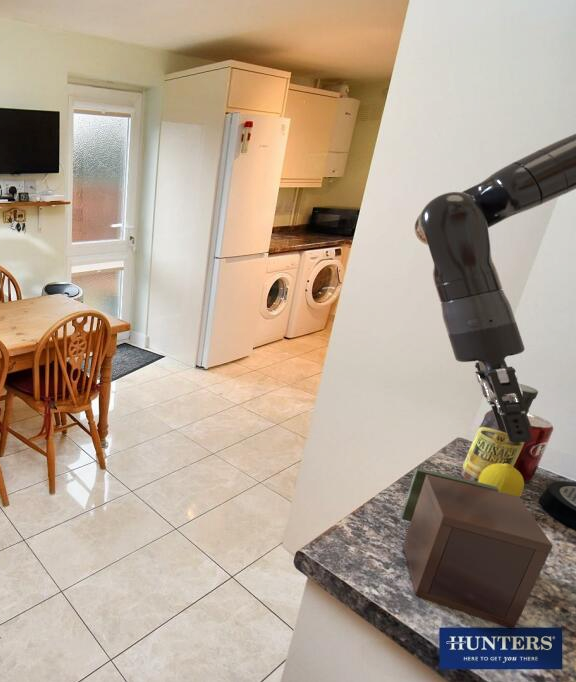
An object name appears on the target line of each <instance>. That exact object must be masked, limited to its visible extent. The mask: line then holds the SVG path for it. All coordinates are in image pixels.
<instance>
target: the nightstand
mask: <svg viewBox="0 0 576 682" xmlns="http://www.w3.org/2000/svg"><path fill="white" fill-rule="evenodd" d="M553 546H554V545H553V543H552V542H551V540H550V539H549V538H548V536H547V535H546V533H545V532H544V530H543V529H542V527H541V526H540V525H539V523H538V522H537V520H536V519H535V518H534V516H533V515H532V513H531V512H530V510H529V509H528V508H527V506H526V504H525V503H524V502H523V500H522V499H521V496H520V497H519V496H514V495H510V494H506V493H502V492H498V491H494V490H490V489H485V488H481V487H477V486H473V485H469V484H465V483H460V482H456V481H452V480H448V479H444V478H440V477H436V476H431V475H427V474H426V477H425V480H424V483H423V486H422V490H421V493H420V496H419V499H418V502H417V505H416V508H415V511H414V514H413V517H412V520H411V522H410V523H409V526H408V529H407V532H406V535H405V539H404V542H403V545H402V549H403V552H404V557H405V561H406V564H407V568H408V572H409V577H410V580H411V584H412V588H413V592H414V595H415V597H418V598H421V599H423V600H427V601H431V602H433V603H436V604H439V605H442V606H445V607H448V608H451V609H454V610H457V611H460V612H462V613H465V614H468V615H472V616H473V617H477V618H480V619H483V620H485V621H489V622H492V623H495V624H498V625H501V626H503V627H506V628H508V629H509V628H510V629H512V630H514V629H515V628H516V626H517V623H518V622H519V619H520V618H521V616H522V613H523V611H524V609H525V608H526V605H527V603H528V600H529V599H530V596H531V594H532V591H533V589H534V588H535V585H536V583H537V581H538V579H539V577H540V574H541V573H542V570H543V568H544V566H545V563H546V561H547V560H548V557H549V556H550V553H551V551H552V548H553Z"/></svg>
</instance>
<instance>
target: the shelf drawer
mask: <svg viewBox="0 0 576 682" xmlns="http://www.w3.org/2000/svg"><path fill="white" fill-rule="evenodd" d="M426 474H427V475H431V476H436V477H440V478H444V479H448V480H452V481H456V482H460V483H465V484H469V485H473V486H477V487H481V488H485V489H490V490H494V491H499V490H498V488H497V487H496V486H492V485H488V484H484V483H480V482H475V481H471V480H467V479H464V478H463V477H458V476H455V475H454V476H453V475H450V474H446V473H441V472H436V471H433V470H429V469H424V468H420V467H416V468H415V469H414V473H413V477H412V479H411V482H410V485H409V488H408V492H407V495H406V497H405V501H404V505H403V507H402V510H401V513H400V518H401V520H403V521H407V522H410V523H411V520H412V517H413V514H414V511H415V508H416V505H417V502H418V499H419V496H420V493H421V490H422V486H423V483H424V480H425V477H426Z"/></svg>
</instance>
